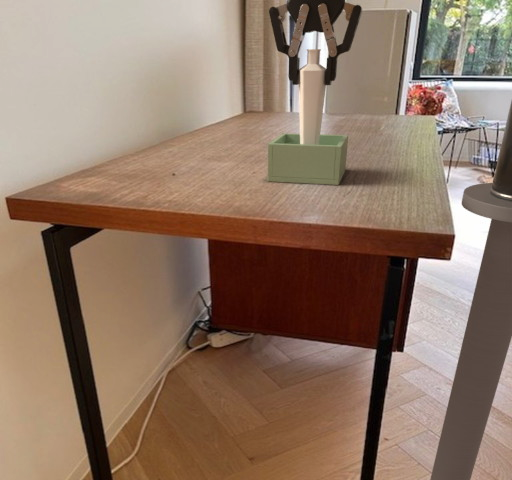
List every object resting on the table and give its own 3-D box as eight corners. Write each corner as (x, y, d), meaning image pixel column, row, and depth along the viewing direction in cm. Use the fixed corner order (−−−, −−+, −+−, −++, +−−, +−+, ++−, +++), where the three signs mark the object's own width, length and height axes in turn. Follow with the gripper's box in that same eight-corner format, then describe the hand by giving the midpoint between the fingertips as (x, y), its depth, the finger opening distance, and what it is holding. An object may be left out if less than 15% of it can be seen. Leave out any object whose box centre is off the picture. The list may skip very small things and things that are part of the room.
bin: (345, 170, 89) (348, 135, 86) (338, 185, 79) (341, 146, 76) (281, 167, 92) (282, 133, 89) (267, 181, 82) (267, 143, 79)
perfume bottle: (323, 151, 85) (329, 49, 77) (322, 156, 81) (328, 49, 74) (296, 150, 85) (299, 49, 78) (294, 155, 82) (297, 49, 74)
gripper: (262, -55, 68) (262, 85, 77) (369, -61, 65) (356, 86, 74) (273, -46, 74) (272, 83, 83) (371, -51, 71) (359, 83, 80)
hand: (312, 84), depth 78 cm, fingers closed on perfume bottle, 4 cm apart
